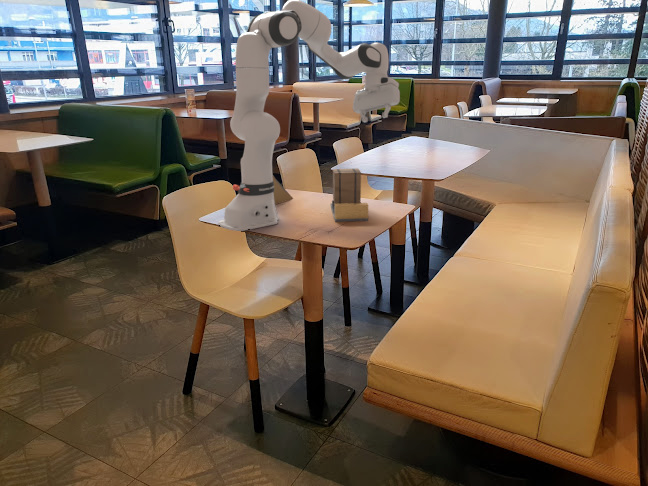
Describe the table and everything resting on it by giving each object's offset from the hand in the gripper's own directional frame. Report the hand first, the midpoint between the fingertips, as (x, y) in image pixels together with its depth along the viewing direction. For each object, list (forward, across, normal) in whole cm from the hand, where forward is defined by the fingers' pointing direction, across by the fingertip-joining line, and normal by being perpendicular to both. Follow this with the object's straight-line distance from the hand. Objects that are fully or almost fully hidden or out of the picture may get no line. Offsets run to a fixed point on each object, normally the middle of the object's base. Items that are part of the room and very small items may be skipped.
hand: (374, 119), depth 192 cm
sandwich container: (+31, -42, -10) cm, 53 cm away
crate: (+32, -10, -2) cm, 34 cm away
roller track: (+37, -7, -5) cm, 38 cm away
